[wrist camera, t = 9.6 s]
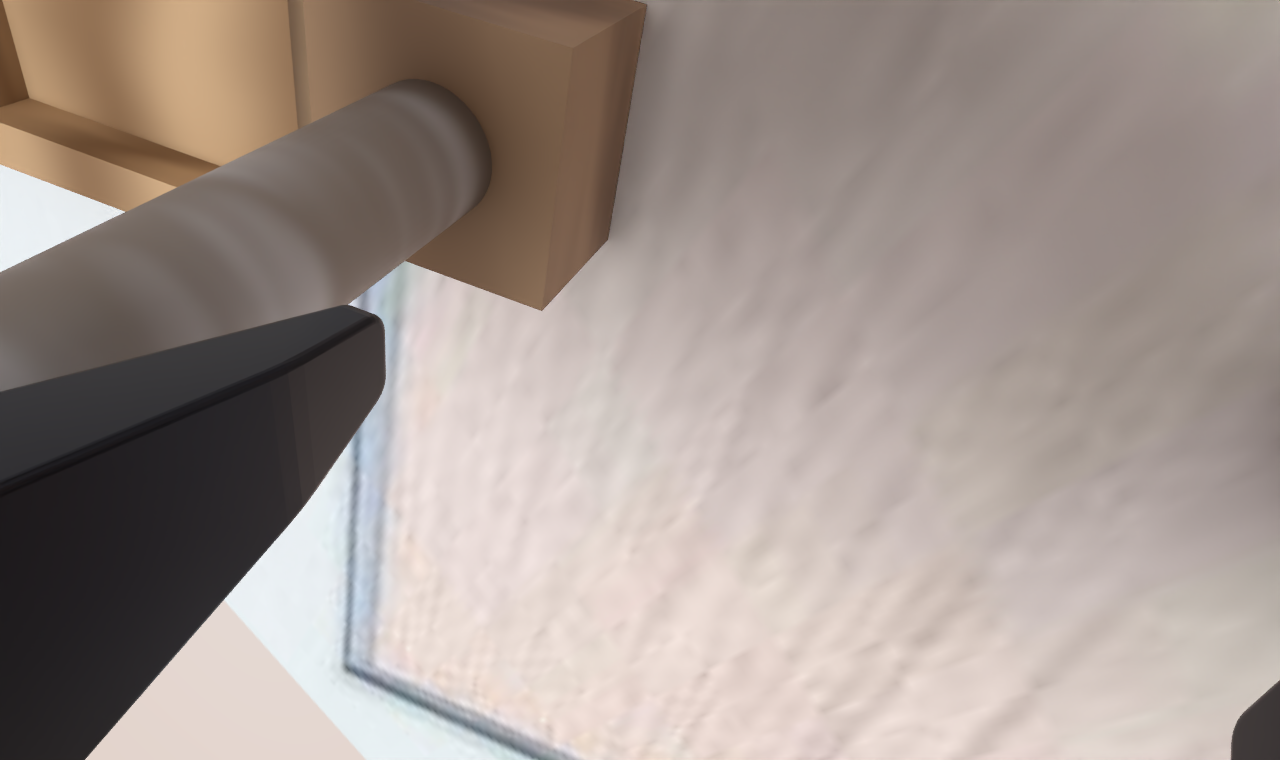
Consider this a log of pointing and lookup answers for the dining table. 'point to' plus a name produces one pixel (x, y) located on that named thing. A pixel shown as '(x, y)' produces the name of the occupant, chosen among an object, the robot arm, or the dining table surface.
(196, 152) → the wooden u-channel cradle
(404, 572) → the dining table surface
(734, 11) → the dining table surface
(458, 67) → the peg on square base
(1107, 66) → the dining table surface
